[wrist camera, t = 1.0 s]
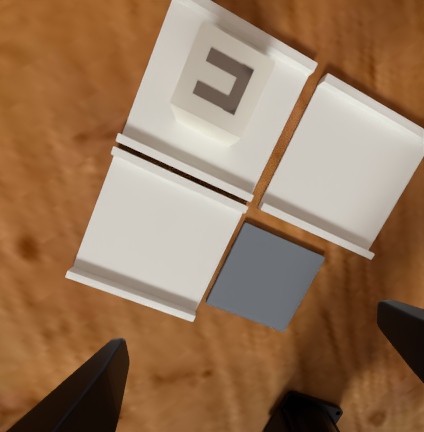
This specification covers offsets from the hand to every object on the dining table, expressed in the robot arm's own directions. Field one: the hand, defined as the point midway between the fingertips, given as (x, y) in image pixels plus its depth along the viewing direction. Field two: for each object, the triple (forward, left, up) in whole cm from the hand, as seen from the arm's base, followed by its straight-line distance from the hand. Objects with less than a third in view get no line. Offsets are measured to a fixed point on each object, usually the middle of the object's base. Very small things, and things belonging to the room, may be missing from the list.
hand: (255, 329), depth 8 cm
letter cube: (+5, -9, -11) cm, 15 cm away
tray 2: (+5, +2, -12) cm, 13 cm away
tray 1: (+5, -9, -12) cm, 16 cm away
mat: (-5, +2, -12) cm, 13 cm away
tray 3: (-7, -9, -12) cm, 16 cm away
